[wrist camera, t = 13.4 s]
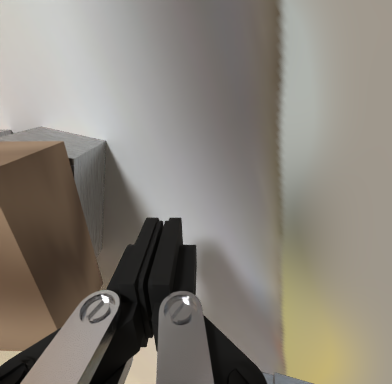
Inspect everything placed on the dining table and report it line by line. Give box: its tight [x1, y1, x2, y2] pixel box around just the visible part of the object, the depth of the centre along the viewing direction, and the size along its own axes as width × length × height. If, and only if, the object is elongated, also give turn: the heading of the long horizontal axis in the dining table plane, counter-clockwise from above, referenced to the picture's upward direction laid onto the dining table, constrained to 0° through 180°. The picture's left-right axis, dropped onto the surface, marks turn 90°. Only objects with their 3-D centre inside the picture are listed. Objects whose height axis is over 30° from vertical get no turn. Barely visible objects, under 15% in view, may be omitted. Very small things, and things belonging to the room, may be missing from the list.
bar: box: [0, 127, 106, 258], centre depth 14 cm, size 9×4×4 cm, turn 167°
